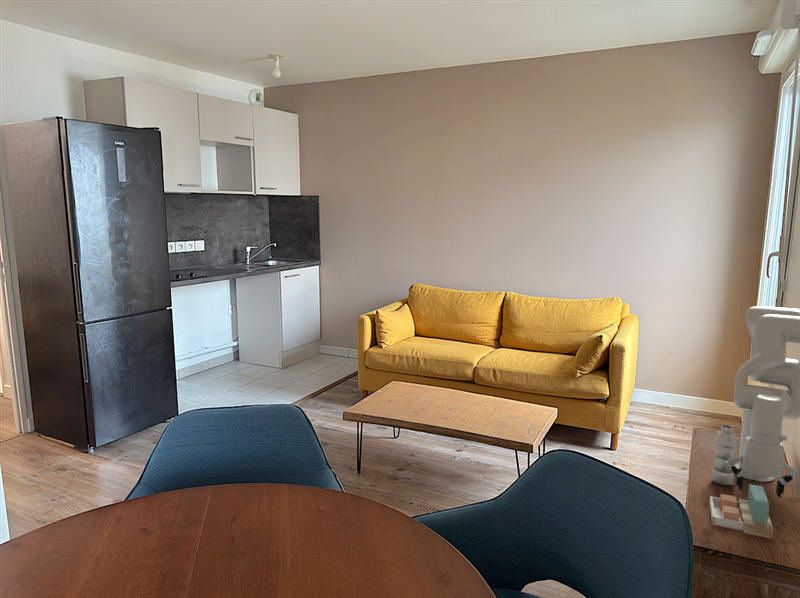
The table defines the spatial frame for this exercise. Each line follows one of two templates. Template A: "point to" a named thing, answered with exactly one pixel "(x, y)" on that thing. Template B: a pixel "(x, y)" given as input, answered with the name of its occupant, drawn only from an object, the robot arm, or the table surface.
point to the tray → (717, 516)
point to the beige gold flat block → (752, 526)
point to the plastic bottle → (724, 456)
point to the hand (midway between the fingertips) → (759, 491)
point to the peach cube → (730, 513)
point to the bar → (758, 504)
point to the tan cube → (727, 501)
